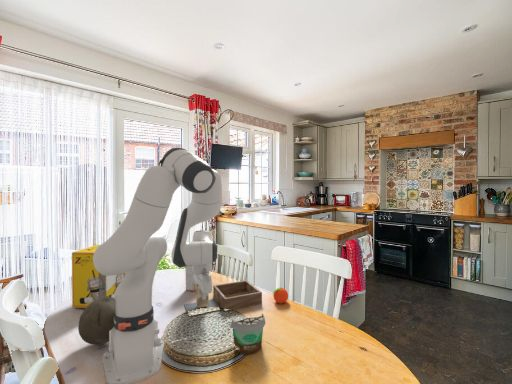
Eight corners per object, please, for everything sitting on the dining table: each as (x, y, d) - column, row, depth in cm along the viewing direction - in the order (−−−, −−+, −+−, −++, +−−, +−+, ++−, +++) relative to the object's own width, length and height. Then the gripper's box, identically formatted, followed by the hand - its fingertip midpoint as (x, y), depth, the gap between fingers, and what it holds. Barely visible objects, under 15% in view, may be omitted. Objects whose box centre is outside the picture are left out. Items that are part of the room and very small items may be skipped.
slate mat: (221, 310, 117) (221, 309, 117) (189, 316, 111) (189, 315, 111) (213, 299, 128) (213, 299, 128) (184, 305, 122) (184, 304, 122)
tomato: (275, 307, 120) (275, 291, 120) (268, 301, 126) (268, 286, 126) (291, 304, 123) (291, 289, 123) (283, 298, 129) (283, 284, 129)
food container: (236, 360, 83) (236, 328, 83) (230, 349, 88) (230, 319, 88) (271, 351, 88) (271, 320, 88) (263, 341, 93) (263, 312, 93)
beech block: (208, 305, 118) (208, 285, 118) (198, 307, 116) (198, 287, 116) (205, 301, 122) (205, 282, 122) (196, 303, 120) (196, 283, 120)
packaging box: (106, 308, 119) (106, 253, 118) (72, 307, 120) (71, 252, 120) (126, 294, 135) (126, 245, 134) (96, 293, 136) (96, 244, 136)
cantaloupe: (86, 288, 95) (62, 334, 89) (103, 298, 86) (78, 349, 81) (120, 296, 105) (101, 338, 99) (140, 305, 96) (120, 351, 90)
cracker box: (200, 281, 153) (200, 245, 153) (209, 283, 151) (209, 246, 150) (184, 290, 140) (184, 250, 140) (194, 291, 138) (194, 251, 138)
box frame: (261, 304, 123) (261, 292, 123) (224, 311, 116) (224, 299, 116) (246, 290, 140) (246, 280, 139) (213, 296, 132) (213, 285, 132)
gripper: (215, 271, 111) (215, 304, 111) (203, 259, 130) (203, 287, 130) (200, 273, 108) (200, 307, 109) (190, 261, 127) (190, 290, 127)
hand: (202, 296), depth 119 cm, fingers closed on beech block, 4 cm apart
